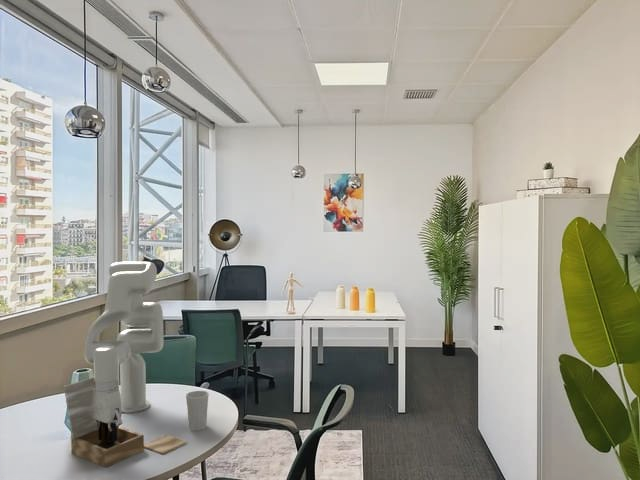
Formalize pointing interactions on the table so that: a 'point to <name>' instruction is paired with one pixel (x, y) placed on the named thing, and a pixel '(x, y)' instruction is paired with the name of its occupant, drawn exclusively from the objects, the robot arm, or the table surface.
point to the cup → (197, 409)
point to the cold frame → (95, 429)
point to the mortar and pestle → (104, 437)
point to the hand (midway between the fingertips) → (107, 439)
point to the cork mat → (164, 444)
